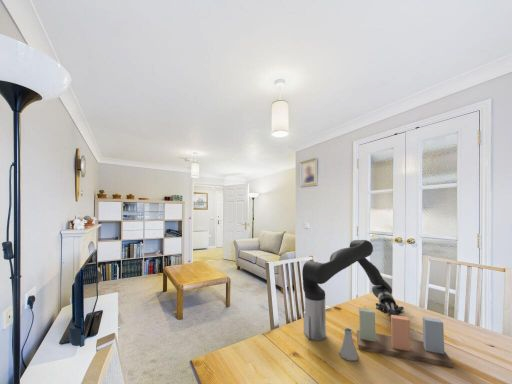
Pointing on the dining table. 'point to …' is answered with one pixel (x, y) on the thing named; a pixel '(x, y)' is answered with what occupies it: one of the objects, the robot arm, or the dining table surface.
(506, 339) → the dining table surface
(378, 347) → the brown wooden flat board
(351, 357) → the flask
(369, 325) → the sage tab
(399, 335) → the terracotta tab
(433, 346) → the slate tab
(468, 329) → the dining table surface
